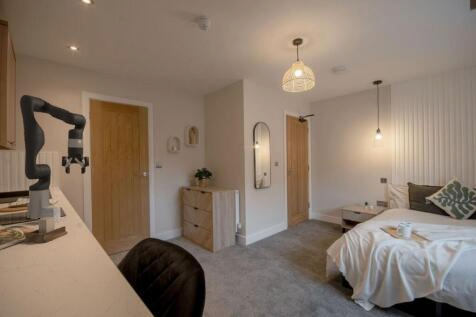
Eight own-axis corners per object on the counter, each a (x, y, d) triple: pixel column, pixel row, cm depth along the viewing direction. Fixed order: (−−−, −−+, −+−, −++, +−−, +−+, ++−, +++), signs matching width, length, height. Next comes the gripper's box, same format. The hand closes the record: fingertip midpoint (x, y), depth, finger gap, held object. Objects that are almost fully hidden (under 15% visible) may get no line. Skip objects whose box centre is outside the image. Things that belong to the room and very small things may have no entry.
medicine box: (60, 221, 128) (60, 206, 128) (53, 223, 123) (53, 208, 123) (48, 220, 129) (48, 206, 128) (41, 222, 124) (41, 207, 124)
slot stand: (23, 241, 98) (23, 233, 97) (47, 233, 108) (47, 225, 108) (45, 242, 97) (45, 234, 97) (67, 233, 108) (67, 226, 107)
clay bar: (38, 236, 101) (38, 219, 101) (47, 233, 105) (46, 216, 105) (46, 236, 101) (46, 219, 100) (54, 233, 105) (54, 217, 104)
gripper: (58, 146, 126) (58, 174, 126) (84, 146, 127) (84, 174, 127) (67, 146, 133) (67, 173, 134) (91, 147, 135) (91, 173, 135)
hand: (75, 173), depth 131 cm, fingers open, 8 cm apart
